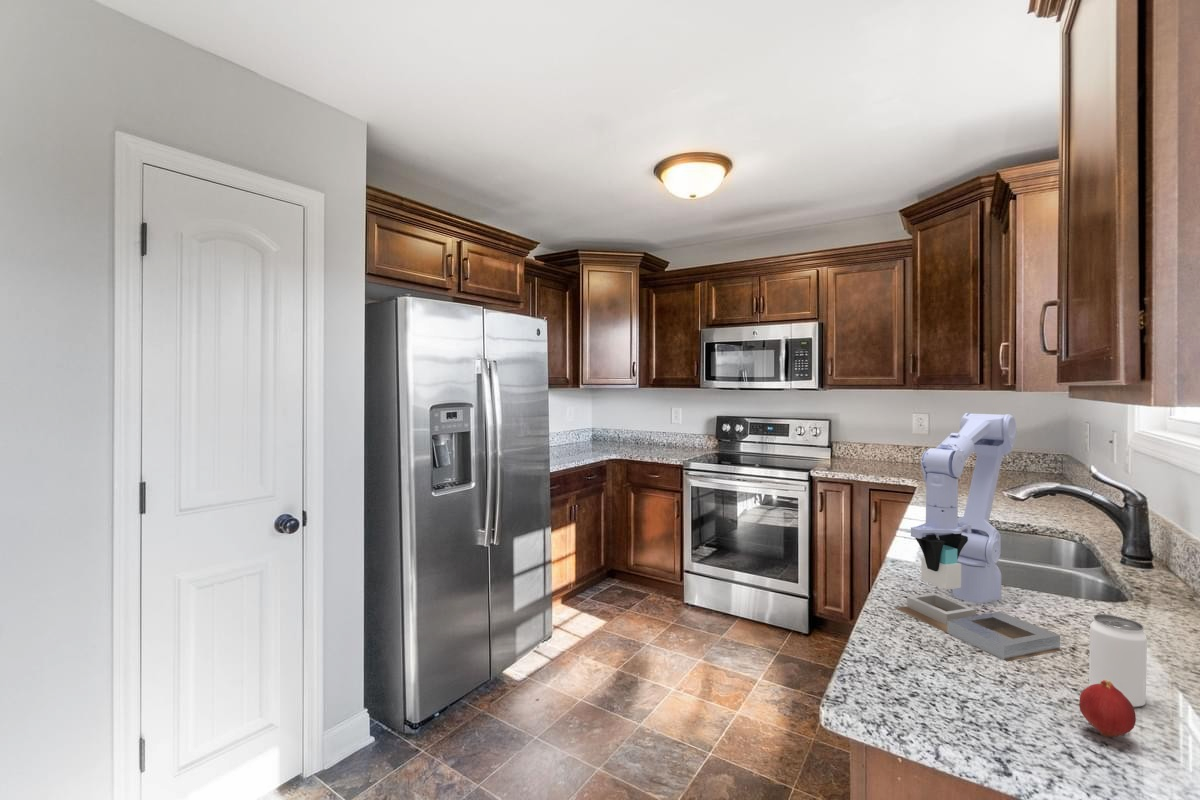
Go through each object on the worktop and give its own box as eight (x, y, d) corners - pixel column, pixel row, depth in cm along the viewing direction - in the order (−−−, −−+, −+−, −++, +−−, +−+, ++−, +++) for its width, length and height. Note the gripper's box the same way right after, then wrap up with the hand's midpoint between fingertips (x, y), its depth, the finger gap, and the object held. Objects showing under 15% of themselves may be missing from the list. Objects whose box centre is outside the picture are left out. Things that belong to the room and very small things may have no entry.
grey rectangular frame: (934, 602, 120) (934, 592, 120) (975, 620, 111) (975, 609, 111) (907, 606, 118) (907, 596, 118) (946, 625, 109) (946, 614, 109)
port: (999, 623, 109) (1000, 611, 109) (1059, 648, 99) (1060, 635, 99) (947, 632, 105) (947, 620, 105) (1004, 660, 95) (1004, 645, 95)
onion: (1080, 717, 79) (1081, 664, 79) (1135, 735, 75) (1136, 679, 75) (1077, 735, 75) (1077, 679, 75) (1135, 755, 71) (1136, 696, 71)
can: (1157, 711, 81) (1159, 632, 81) (1107, 706, 82) (1109, 628, 82) (1125, 687, 87) (1126, 614, 87) (1079, 683, 89) (1080, 611, 88)
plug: (935, 577, 118) (935, 541, 118) (961, 587, 112) (961, 549, 112) (921, 579, 116) (921, 543, 116) (946, 589, 111) (946, 551, 111)
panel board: (944, 604, 121) (944, 600, 121) (1062, 654, 98) (1062, 649, 98) (895, 611, 117) (895, 608, 117) (1006, 665, 94) (1007, 661, 94)
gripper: (931, 511, 108) (931, 578, 108) (985, 506, 112) (984, 571, 112) (902, 504, 115) (902, 567, 115) (954, 500, 119) (953, 561, 119)
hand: (940, 568), depth 114 cm, fingers closed on plug, 4 cm apart
